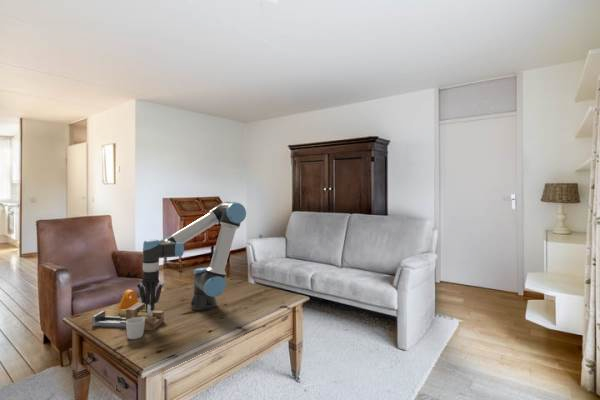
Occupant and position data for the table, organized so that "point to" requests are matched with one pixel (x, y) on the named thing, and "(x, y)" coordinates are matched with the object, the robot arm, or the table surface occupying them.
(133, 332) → the cup
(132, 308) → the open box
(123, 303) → the bracket
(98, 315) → the v block
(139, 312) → the axle
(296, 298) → the table surface
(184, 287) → the table surface
